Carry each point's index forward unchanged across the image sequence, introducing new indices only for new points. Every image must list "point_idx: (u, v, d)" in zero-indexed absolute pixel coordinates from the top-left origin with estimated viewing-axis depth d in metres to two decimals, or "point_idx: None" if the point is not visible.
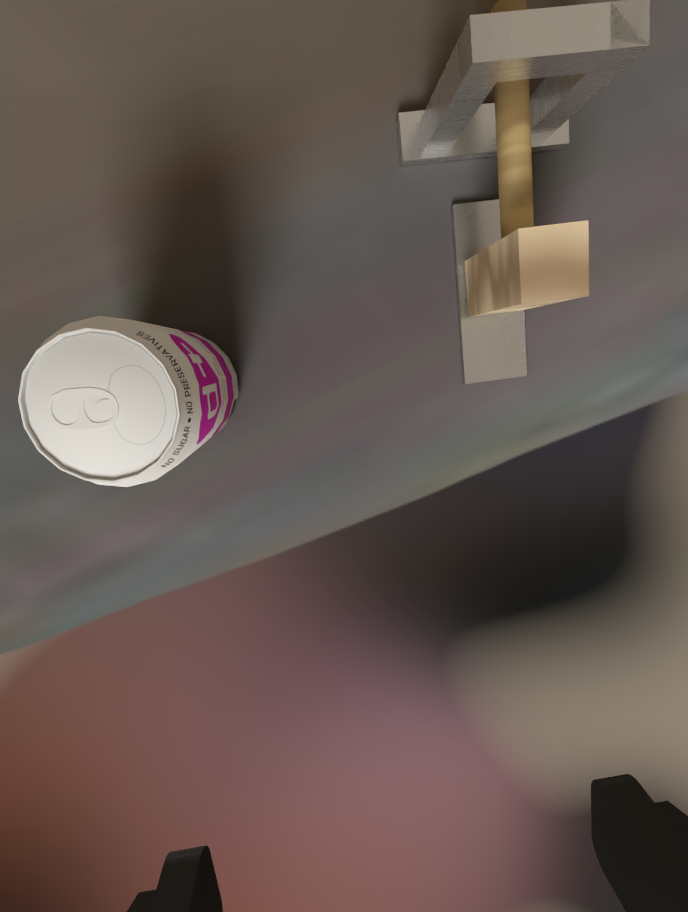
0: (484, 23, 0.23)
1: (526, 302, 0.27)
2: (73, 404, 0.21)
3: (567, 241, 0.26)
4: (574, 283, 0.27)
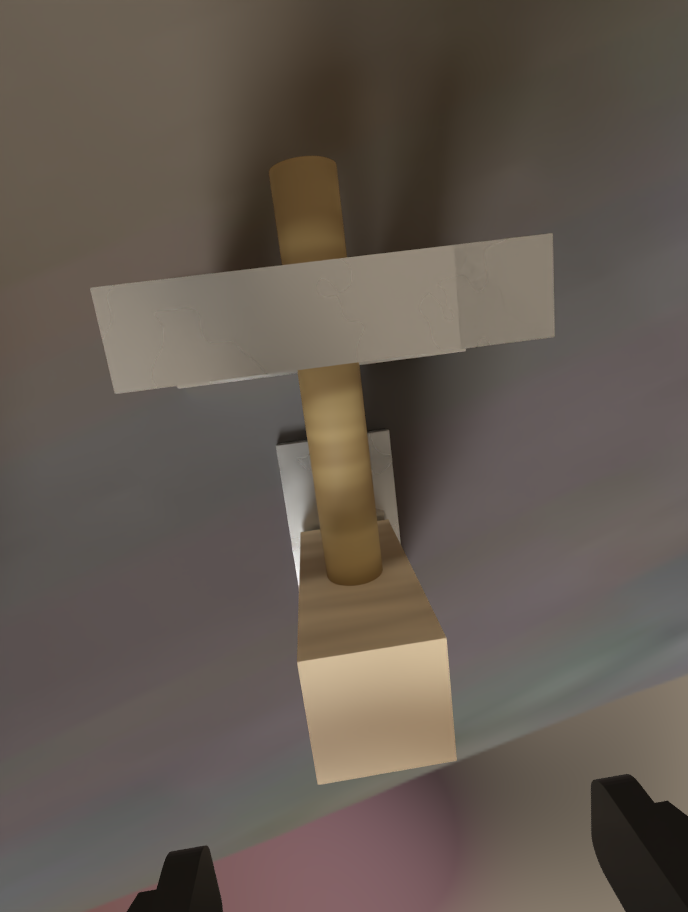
0: (132, 305, 0.09)
1: (329, 779, 0.13)
2: None
3: (405, 675, 0.13)
4: (425, 743, 0.13)
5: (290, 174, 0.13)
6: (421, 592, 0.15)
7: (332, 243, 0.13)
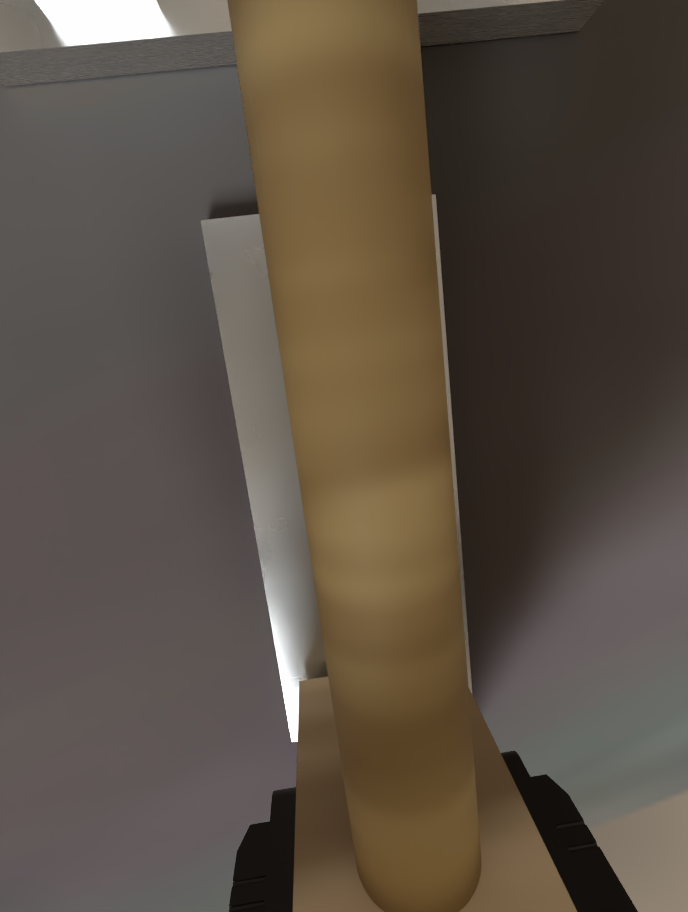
0: None
1: None
2: None
3: None
4: None
5: None
6: None
7: (393, 41, 0.04)
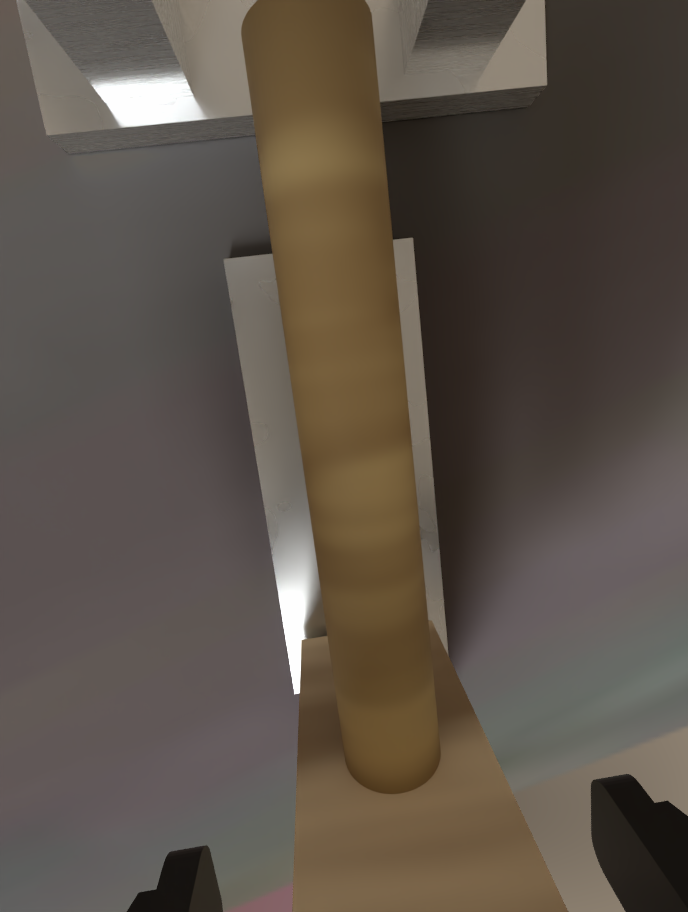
0: None
1: None
2: None
3: None
4: None
5: (281, 22, 0.06)
6: (525, 831, 0.08)
7: (365, 169, 0.07)
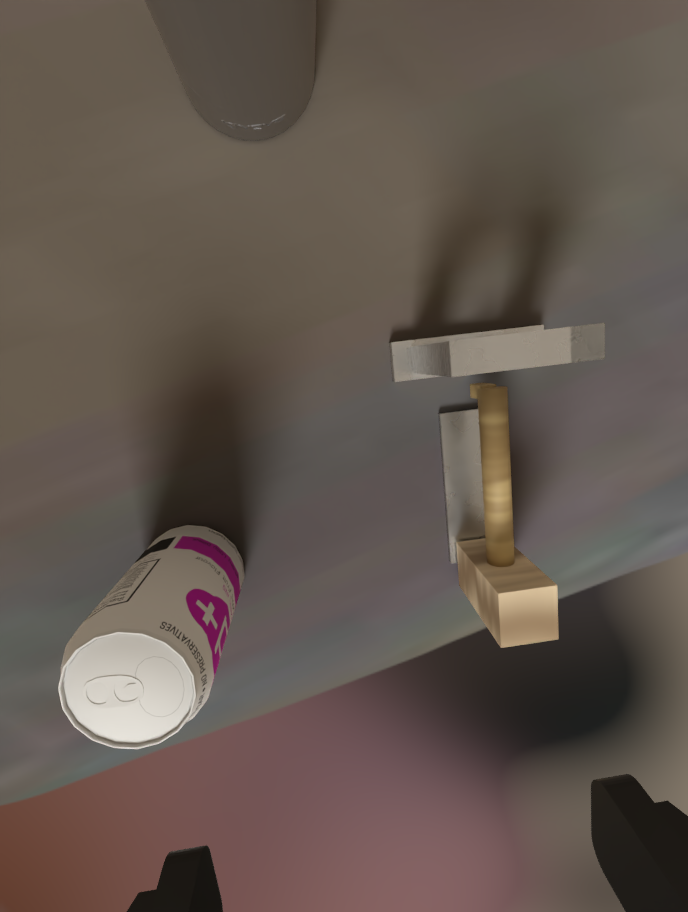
0: (461, 346, 0.26)
1: (505, 645, 0.32)
2: (105, 688, 0.25)
3: (540, 600, 0.31)
4: (546, 631, 0.32)
5: (491, 395, 0.32)
6: (538, 569, 0.33)
7: (506, 420, 0.32)
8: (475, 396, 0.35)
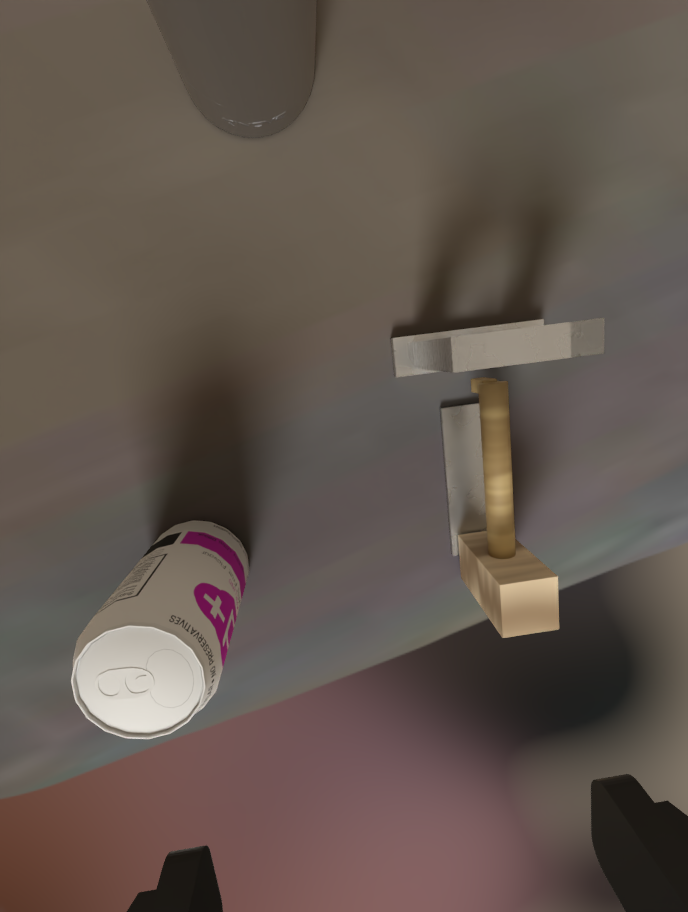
0: (463, 342, 0.27)
1: (507, 636, 0.32)
2: (116, 680, 0.25)
3: (541, 591, 0.32)
4: (546, 621, 0.32)
5: (492, 389, 0.32)
6: (539, 561, 0.34)
7: (506, 415, 0.33)
8: (476, 391, 0.35)
